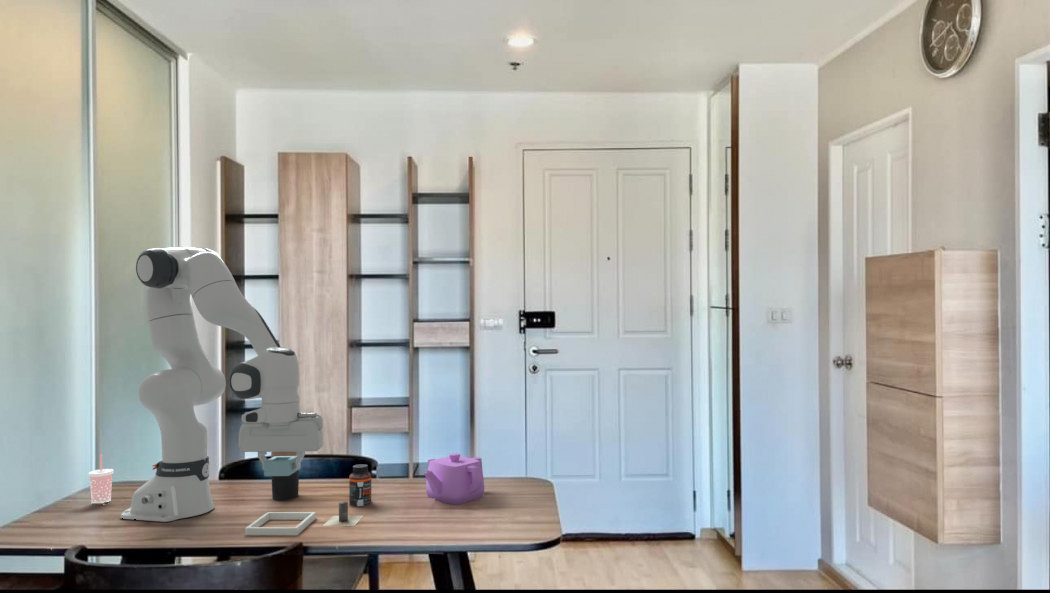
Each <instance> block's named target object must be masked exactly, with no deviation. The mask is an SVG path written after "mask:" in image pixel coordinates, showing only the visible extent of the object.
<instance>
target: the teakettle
mask: <svg viewBox="0 0 1050 593" xmlns="http://www.w3.org/2000/svg"><path fill="white" fill-rule="evenodd" d="M427 462H428V468H427V471H425V472H423V474H424V476H425V479H426V482H425V483H426V484H425V489H426V490H425V491H426V495H427V497H428V498H430V499H434V500H435V501H437V502H441V503H444V502H445V504H449V505H455V506H456V505H457V506H458V505H462V504H465V503H468V502H472V501H475V500H478V499H481V498H483V497H484V493H485V479H484V474H483V473H484V472H483V461H482V458H481V457H477V456H476V457H468V456H467V457H466V456H462V455H461V453H458V452H452V453H450V454H449V456H446V457H440V458H432V459H427Z"/></svg>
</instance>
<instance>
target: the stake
mask: <svg viewBox="0 0 1050 593" xmlns="http://www.w3.org/2000/svg"><path fill="white" fill-rule="evenodd" d="M363 517H364V515H349V502H348V501H345V500H344V501H340V502H338V515H332V516H331V517H330V518H329V519H328V520H327V521H325V523H324V524H323V525H322V526H323V527H355V526H356V525H357V523H358V522H360V521H361V519H362V518H363Z"/></svg>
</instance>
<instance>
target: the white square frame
mask: <svg viewBox="0 0 1050 593" xmlns="http://www.w3.org/2000/svg"><path fill="white" fill-rule="evenodd" d="M271 520H275V521H276V520H278V521H279V520H281V521H282V520H285V521H287V520H300V522H299V523H298V524H297V525H296V526H283V527H282V526H265V527H264V526H263V525H264V524H265V523H267V522H268V521H271ZM301 520H302V521H301ZM315 520H317V512H316V511H284V512H283V511H267V512H266V513H264V514H263V515H261V516H260V517H259V518H257V519H255V521H253V522H252V523H250V524H249V525H248V526H246V527H245V528H244V536H298V535H299V534H301V533H302V532H303V531H304V530H305V529H306V528H307V527H308V526H309V525H310V524H312V523H313V522H314V521H315Z"/></svg>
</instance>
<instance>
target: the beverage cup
mask: <svg viewBox="0 0 1050 593" xmlns="http://www.w3.org/2000/svg"><path fill="white" fill-rule="evenodd" d="M99 461H100V462H99V469H95V470H91V471H89V472H88V477H89V485H90V496H91V497H90V499H91V504H92V503H104V502H109V501H111V500H112V488H113V487H112V486H113V485H112V484H113V483H112V482H113V474H114V469H113V468H103V453H99ZM111 502H112V501H111Z"/></svg>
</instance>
